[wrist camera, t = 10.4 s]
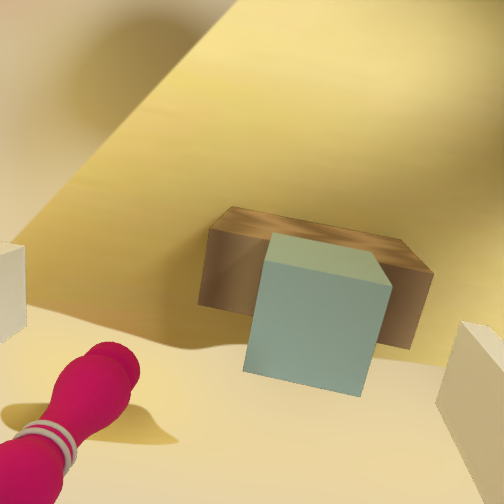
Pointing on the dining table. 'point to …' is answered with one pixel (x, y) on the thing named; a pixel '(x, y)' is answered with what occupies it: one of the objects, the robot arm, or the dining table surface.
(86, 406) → the pepper mill
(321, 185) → the dining table surface
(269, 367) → the letter cube
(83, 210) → the dining table surface
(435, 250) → the dining table surface
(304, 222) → the walnut box
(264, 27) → the dining table surface
